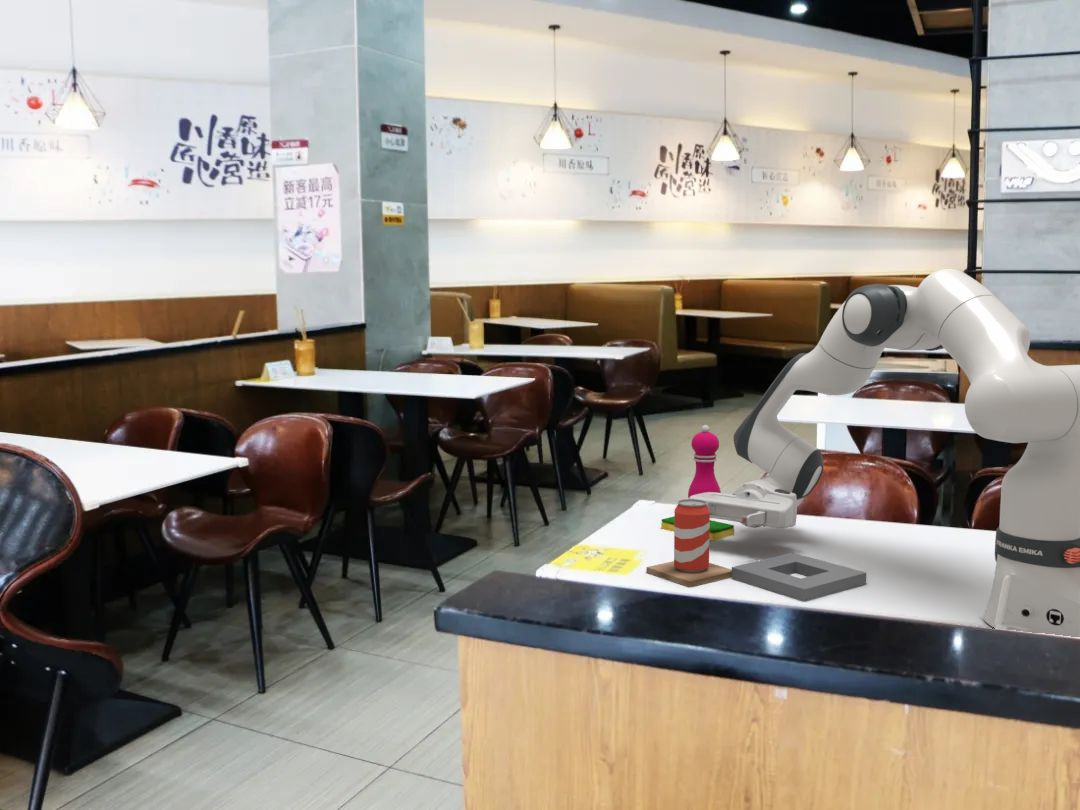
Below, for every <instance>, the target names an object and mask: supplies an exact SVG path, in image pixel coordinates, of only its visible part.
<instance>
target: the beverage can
mask: <svg viewBox="0 0 1080 810" xmlns="http://www.w3.org/2000/svg"><path fill="white" fill-rule="evenodd" d="M674 516H675V522H674V531H673V532H674V534H673V539H674V540H673V541H674V542H673V543H674V545H673V548H674V549H673V561H674V566H675V567H677V568H678V569H679V570H681V571H683V572H691V573H693V572H701V571H704V570H705V568H708V567H709V563H710V540H709V531H710V520H711V518H710V510H709V508H708V507H707V502H706V501H703V500H697V499H689V498H687V499H686V498H685V499H679V500H677V504H676V507H675V508H674Z"/></svg>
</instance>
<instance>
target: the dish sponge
mask: <svg viewBox="0 0 1080 810" xmlns="http://www.w3.org/2000/svg"><path fill="white" fill-rule="evenodd" d="M674 522H675V515H674V516H670V517H665V518H662V519H661V530H666V531H669V530H670V532H674ZM734 532H735V526H734V525H733V524H730V523H725V522H720V521H715V520H711V519H710V531H709V541H715V540H720V539H724V538H727V537H730V536H734V535H735V533H734Z"/></svg>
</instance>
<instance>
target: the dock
mask: <svg viewBox="0 0 1080 810" xmlns="http://www.w3.org/2000/svg"><path fill="white" fill-rule="evenodd" d="M731 569H732V576H731V577H730V578H731V579H733V580H736V581H739V582H741V583H745V584H748V585H751V586H754V587H757V588H761V589H764V590H768V591H770V592H774V593H776V594H778V595H779V594H780V595H784V596H786V597H789V598H792V599H795V600H799V601H802V602H807V601H811V600H813V599H817V598H821V597H824V596H827V595H832V594H834V593H839V592H842V591H845V590H849V589H854V588H856V587H860V586H861V587H862V586H864V585H867V572H866V571H862V570H858V569H856V568H855V569H854V568H851V567H847V566H844V565H840V564H836V563H833V562H829V561H825V560H821V559H818V558H814V557H810V556H807V555H803V554H800V553H795V552H790V553H787V554H782V555H779V556H773V557H770V558H765V559H762V560H757V561H752V562H748V563H743V564H740V565H739V564H738V565H735V566H732V567H731ZM792 574H799V575H802V576H805V577H802V578H800V577H797V576H793V575H792Z"/></svg>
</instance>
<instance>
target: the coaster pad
mask: <svg viewBox="0 0 1080 810" xmlns="http://www.w3.org/2000/svg"><path fill="white" fill-rule="evenodd" d="M645 571H646V574H650V575H653V576H655V577H658V578H661V579H664V580H667V581H670V582H673V583H676V584H678V585H681V586H685V587H688V588H692V587H697V586H701V585H705V584H709V583H713V582H716V581H721V580H725V579H726V580H727V579H729V578H731V576H732V568H727V567H724V566H720V565H719V564H716V563H712V562H709V567H708V568H705V570H704V571H701V572H693V573H691V572H683V571H681V570H679V569H678V568H677V567H675V566H674V560H673V561H668V562H663V563H660V564H654V565H650V566H646V570H645Z"/></svg>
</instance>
